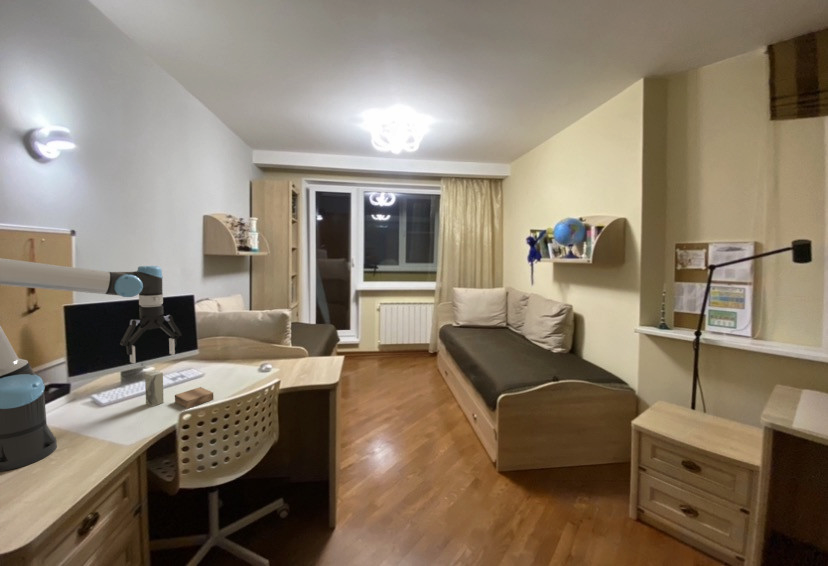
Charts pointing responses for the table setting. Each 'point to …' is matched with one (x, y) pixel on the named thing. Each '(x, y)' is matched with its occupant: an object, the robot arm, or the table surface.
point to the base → (194, 397)
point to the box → (154, 387)
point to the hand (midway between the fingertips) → (153, 358)
